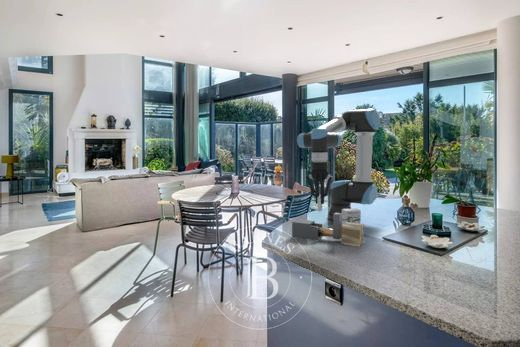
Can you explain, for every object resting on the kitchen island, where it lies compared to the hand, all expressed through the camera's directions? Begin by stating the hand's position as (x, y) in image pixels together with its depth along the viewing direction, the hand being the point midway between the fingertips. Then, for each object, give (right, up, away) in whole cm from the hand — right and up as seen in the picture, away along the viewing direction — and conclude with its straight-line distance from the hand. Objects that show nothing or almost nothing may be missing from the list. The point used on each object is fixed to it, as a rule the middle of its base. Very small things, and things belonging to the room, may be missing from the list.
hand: (319, 210), depth 159 cm
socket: (+14, -14, -7) cm, 21 cm away
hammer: (+5, -12, -2) cm, 13 cm away
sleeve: (-5, -13, +3) cm, 15 cm away
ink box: (+18, -13, +12) cm, 25 cm away
